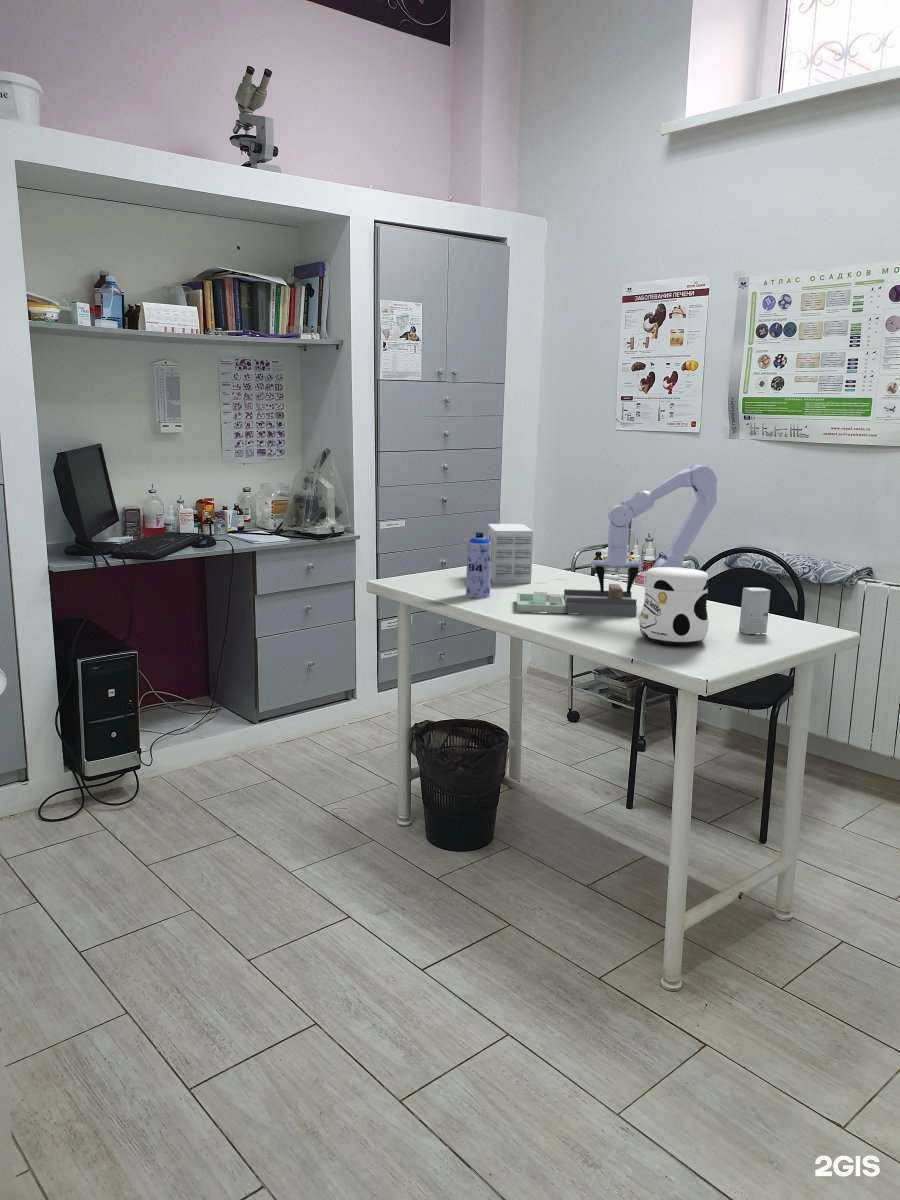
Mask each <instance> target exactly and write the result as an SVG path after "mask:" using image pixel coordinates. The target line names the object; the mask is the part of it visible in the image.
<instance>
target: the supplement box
mask: <svg viewBox="0 0 900 1200" xmlns="http://www.w3.org/2000/svg"><path fill="white" fill-rule="evenodd" d="M487 539H488V540H489V542H491V575H490V581H491V582H492V583H493V584H531V583H532V573H533V572H532V571H533V569H532V567H533V548H534V547H533V546H534V545H533V544H534V530H533V529H531V528H530V527H528V526H527V525H526V524H524V523H488V524H487Z"/></svg>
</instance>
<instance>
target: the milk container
mask: <svg viewBox="0 0 900 1200" xmlns="http://www.w3.org/2000/svg"><path fill="white" fill-rule="evenodd" d="M708 588H709V573H708V572H706V571H704V570H701V569H700V570H699V569H696V568H695V569H694V568H689V567H688V568H687V567H681V568H679V567H656V568H653V567H651V568H649V569H647V571H646V576H645V586H644V602H643V606H642V609H641V612H640V615H639V619H638V620H639V622H638V623H639V632H640V634H641V635H642V636H643V637H644V638H646V639H647V640H650V641H651V642H656V643H660V644H666V645H673V646H675V645H676V646H685V645H693V644H697V643H701V642H702V641H704V639H706V637H707V635H708V631H709V622H710V621H709V616H708V610H707V602H708V601H707V600H708V592H709V589H708Z"/></svg>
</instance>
